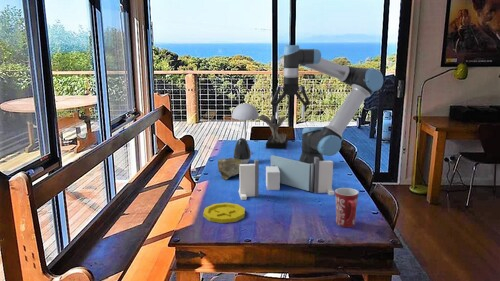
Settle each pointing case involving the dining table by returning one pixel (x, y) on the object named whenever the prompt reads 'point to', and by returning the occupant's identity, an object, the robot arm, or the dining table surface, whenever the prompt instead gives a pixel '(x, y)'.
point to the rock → (229, 167)
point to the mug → (346, 206)
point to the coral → (275, 133)
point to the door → (295, 173)
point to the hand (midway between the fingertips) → (289, 118)
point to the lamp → (245, 114)
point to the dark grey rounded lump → (242, 151)
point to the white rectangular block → (272, 178)
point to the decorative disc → (224, 212)
